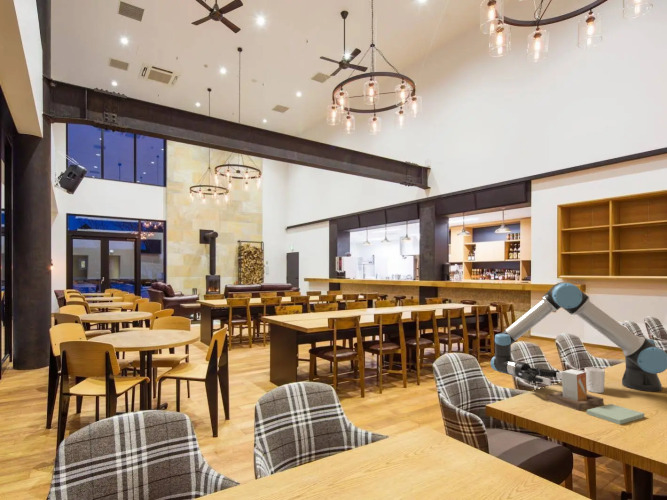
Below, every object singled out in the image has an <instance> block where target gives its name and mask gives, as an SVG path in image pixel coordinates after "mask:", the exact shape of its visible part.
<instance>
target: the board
mask: <svg viewBox="0 0 667 500" xmlns="http://www.w3.org/2000/svg"><path fill="white" fill-rule="evenodd" d="M585 410H586V414H587V415H589V416H592V417H595V418H598V419H600V420H601V419H602V420H604V421H606V422H607V421H608V422H611V423H613V424H616V425H624V424H626V423H630V422H633V421H637V420H640V419H643V418H645V413H644V412H641V411H637V410H633V409H631V408H627V407H623V406H620V405H617V404H613V403H608V404H605V405H600V406H596V407H592V408H588V409H585Z"/></svg>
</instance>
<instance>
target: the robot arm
mask: <svg viewBox="0 0 667 500" xmlns="http://www.w3.org/2000/svg"><path fill="white" fill-rule="evenodd" d="M559 309H563V310H564V311H566V312H567V313H568V314H570V315H577V317H579V318H581V319H582V320H583V321H584V322H585V323H586V324H588V325H589V326H590V327H592V328H593V329H595V330H596V331H597V332H599V333H600V334H601V335H603V336H604V337H605V338H606V339H608V340H609V341H610V342H612V343H613V344H614V345H616V346H617V347H618V348H620V349H621V350H622V352H623V355H624V358H625V359H624V360H625V361H624V362H625V370H624V372H623V376H622V378H621V384H622V386H624V387H626V388H629V389H633V390H638V391H646V392H660V391H662V390H663V386H662V383H661V380H660V377H659V375H658V374H661V373H663V372H665V371H666V370H667V352H666V351H665V350H663V349H662V348H660V347H658V346H656V342H655V340H654V339H651V338H646V337H644V336H637V335H636V334H634V333H633V332H631V331H630V330H628V328H626V327H625V326H623V325H622V324H621V323H619V322H618V321H616V320H615V319H614V318H613V317H611V316H610V315H609V314H607V313H606V312H605V311H603V310H602V309H600V308H599V307H598V306H596V304H594V303H593V302H591V300H590V296H589V295H587V294H586V293H585V292H583V291H582V290H581V289H580V288H579V287H578V286H577V285H575V284H573V283H570V282H562V281H561V282H557V283H556V284H554V285H553V286H552V287H550V289H549V290H548V291H547V292H546V293H544V294H543V295H542V297H541V300H540V301H539V302H537V303H536V304H535V305H534V306H532V307H531V308H530V309H528V310H527V311H526V312H525V313H524V314H523V315H521V316H520V317H519V318H518V319H516V321H514V322H513V323H512V324H511V325H509V326H508V327H507V328H506V329H505V330H503V331H502V332H501V333H497V334H495V335H494V351H495V352H494V353H495V354H494V356H493V357H492V358H491V360H490V366H491V369H493V371H496V372H499V373H500V374H501V373H502V374H506V375H510V376H512V377H514V378H518V379H523V380H526V381H527V382H529V383H532V384H536V383H539V384H541V385H542V384H543V385H545V386H549V387H551V386H552V380H551V378H556V379H558V380H562V372H560V371H559V370H558V369H557V370H553V369H546V368H539V367H536V368H535V367H532V366H531V365H530V364H529V363H526V362H521V361H519V360H514V359H512V345H513V344H514V343H515V342H516V341H517V340H519V339H520V338H521V337H522V336H523V335H525V334H526V333H527V332H529V331H530V330H531V329H533V327H535V326H536V325H537V324H539V323H540V322H541V321H543V320H544V319H546V317H547V316H549V315H550V314H552V312H554V311H559ZM548 377H549V378H548Z"/></svg>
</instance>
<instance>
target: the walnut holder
mask: <svg viewBox="0 0 667 500" xmlns="http://www.w3.org/2000/svg"><path fill="white" fill-rule="evenodd" d="M546 395H547V396H546V397H547V398H546V400H547V401H549V402H551V403H555V404H558V405H560V406H564V407H567V408H570V409H573V410H575V411H578V412H579V411H583V410H584V411H585V410H588V409H592V408H596V407H600V406H604V397H599V396H596V395H592V394H589V393H587V400H584V401H580V402H578V401H575V400H572V399H568V398H565V397H563V390H562V391H558V392H553V393H552V392H551V393H548V394H546Z"/></svg>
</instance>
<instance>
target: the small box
mask: <svg viewBox="0 0 667 500" xmlns="http://www.w3.org/2000/svg"><path fill="white" fill-rule="evenodd" d="M561 373H562V379H561V382H562V383H561V385H562V386H561V387H562V388H561V389H562V391H563V397H565V398H568V399H572V400H575V401H578V402H580V401H584V400H587V394H588V392H587V391H588V390H587V388H586V372H585V371H582V370H578V369H573V368H570V369H566V370H564V371H563V370H562V371H561Z"/></svg>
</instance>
